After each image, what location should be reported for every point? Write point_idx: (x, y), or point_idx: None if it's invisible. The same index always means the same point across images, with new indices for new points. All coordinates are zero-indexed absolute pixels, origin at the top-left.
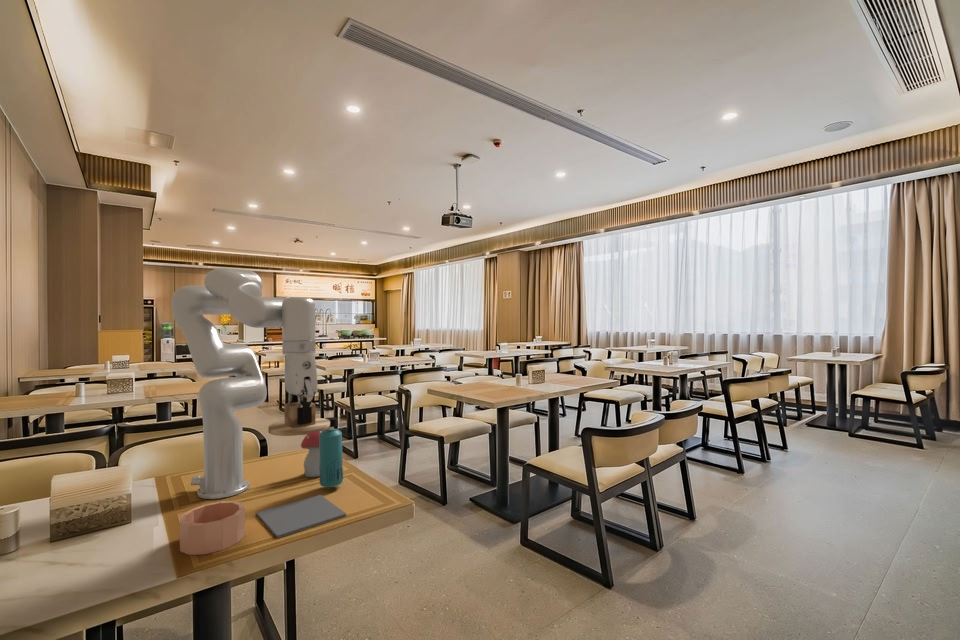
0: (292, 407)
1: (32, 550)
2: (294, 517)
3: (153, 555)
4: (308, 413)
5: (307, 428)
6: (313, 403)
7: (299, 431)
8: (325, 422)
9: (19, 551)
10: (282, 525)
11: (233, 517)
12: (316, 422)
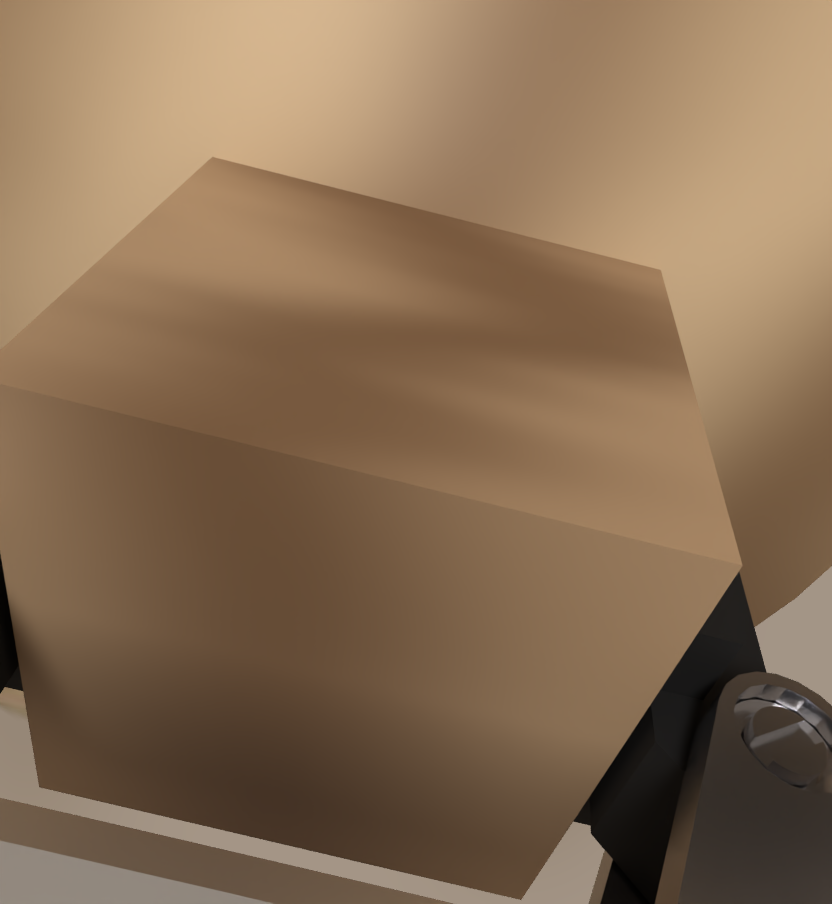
0: (526, 888)
1: (18, 690)
2: None
3: None
4: (739, 614)
5: (773, 510)
6: (622, 548)
7: (759, 613)
8: (753, 41)
9: (3, 702)
10: None
11: None
12: (550, 162)
